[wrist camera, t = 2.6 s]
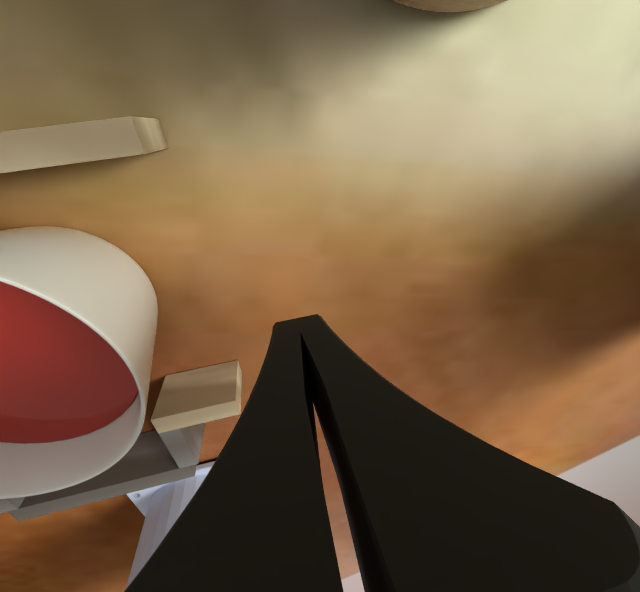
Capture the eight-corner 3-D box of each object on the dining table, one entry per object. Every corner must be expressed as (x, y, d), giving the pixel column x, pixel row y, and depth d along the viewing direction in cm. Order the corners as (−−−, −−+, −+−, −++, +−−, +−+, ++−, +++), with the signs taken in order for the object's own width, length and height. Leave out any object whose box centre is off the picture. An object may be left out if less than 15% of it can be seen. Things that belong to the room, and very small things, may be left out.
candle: (-3, 377, 15) (-148, 518, 10) (-102, 187, 11) (-455, 247, 5) (191, 367, 17) (162, 479, 12) (171, 204, 13) (113, 260, 7)
